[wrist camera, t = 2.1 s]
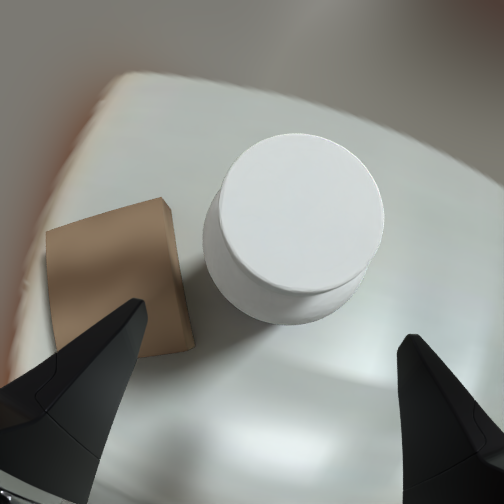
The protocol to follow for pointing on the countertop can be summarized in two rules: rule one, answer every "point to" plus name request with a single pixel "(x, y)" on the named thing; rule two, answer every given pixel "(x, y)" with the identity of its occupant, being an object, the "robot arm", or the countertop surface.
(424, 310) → the countertop surface
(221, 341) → the countertop surface
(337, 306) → the supplement bottle
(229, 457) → the countertop surface
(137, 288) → the walnut pedestal
